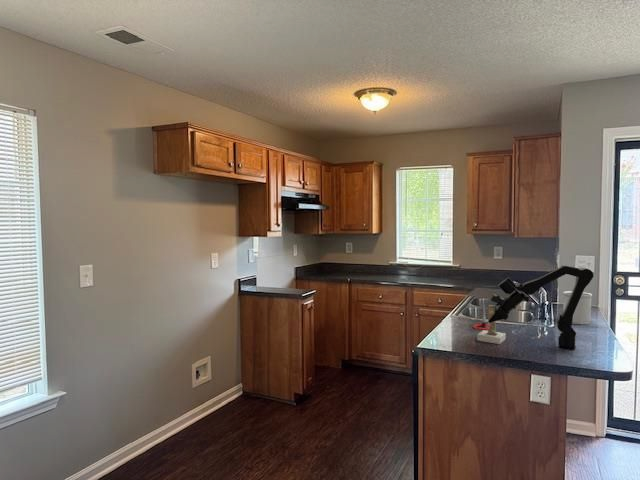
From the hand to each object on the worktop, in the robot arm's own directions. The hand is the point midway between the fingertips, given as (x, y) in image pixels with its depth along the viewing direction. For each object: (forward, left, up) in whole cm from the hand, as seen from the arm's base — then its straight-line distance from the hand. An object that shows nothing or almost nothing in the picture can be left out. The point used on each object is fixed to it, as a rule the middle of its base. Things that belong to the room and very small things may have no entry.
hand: (488, 321), depth 220 cm
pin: (-1, 0, -8) cm, 8 cm away
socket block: (-1, 0, -9) cm, 10 cm away
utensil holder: (-32, -71, -10) cm, 79 cm away
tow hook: (+10, -22, -10) cm, 26 cm away
